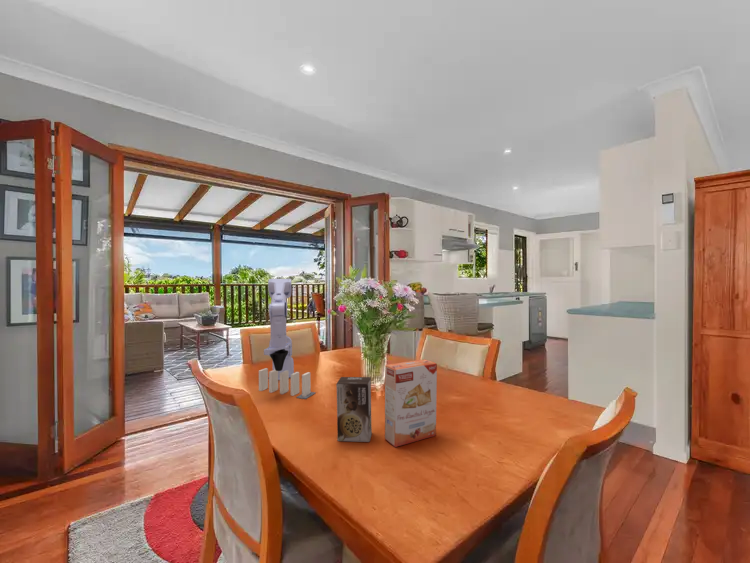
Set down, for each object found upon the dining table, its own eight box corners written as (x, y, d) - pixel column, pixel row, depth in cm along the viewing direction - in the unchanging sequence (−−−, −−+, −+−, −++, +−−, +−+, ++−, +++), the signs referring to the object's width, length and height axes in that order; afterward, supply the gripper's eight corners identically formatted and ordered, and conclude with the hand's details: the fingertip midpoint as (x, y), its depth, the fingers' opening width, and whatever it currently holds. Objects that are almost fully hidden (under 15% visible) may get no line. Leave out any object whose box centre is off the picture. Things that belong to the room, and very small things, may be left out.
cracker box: (396, 448, 92) (395, 369, 91) (384, 439, 97) (383, 364, 97) (437, 436, 99) (437, 362, 98) (424, 428, 104) (424, 358, 104)
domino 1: (265, 387, 142) (265, 368, 142) (267, 388, 142) (267, 368, 142) (258, 390, 139) (258, 370, 138) (261, 391, 138) (261, 370, 138)
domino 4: (296, 392, 137) (296, 371, 137) (299, 392, 136) (299, 372, 136) (290, 395, 133) (290, 374, 133) (293, 395, 133) (293, 374, 132)
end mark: (306, 392, 137) (306, 391, 137) (315, 393, 135) (315, 392, 135) (296, 397, 130) (296, 397, 130) (305, 399, 129) (305, 398, 129)
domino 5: (307, 392, 135) (307, 372, 135) (310, 393, 134) (310, 372, 134) (301, 396, 131) (301, 374, 131) (304, 396, 131) (304, 375, 131)
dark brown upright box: (372, 432, 102) (371, 376, 101) (369, 442, 95) (369, 383, 95) (341, 431, 102) (340, 376, 102) (336, 441, 96) (336, 382, 96)
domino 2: (275, 389, 140) (275, 369, 140) (278, 389, 140) (278, 369, 140) (269, 392, 137) (269, 371, 137) (271, 392, 136) (271, 372, 136)
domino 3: (286, 390, 139) (285, 370, 138) (288, 391, 138) (288, 370, 138) (279, 393, 135) (279, 373, 135) (282, 394, 134) (282, 373, 134)
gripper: (275, 338, 123) (275, 376, 123) (298, 331, 137) (298, 366, 137) (258, 336, 126) (259, 374, 126) (283, 330, 139) (283, 364, 139)
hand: (278, 370), depth 132 cm, fingers closed
